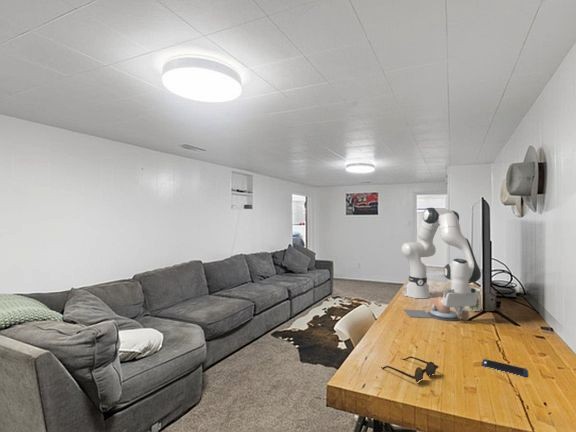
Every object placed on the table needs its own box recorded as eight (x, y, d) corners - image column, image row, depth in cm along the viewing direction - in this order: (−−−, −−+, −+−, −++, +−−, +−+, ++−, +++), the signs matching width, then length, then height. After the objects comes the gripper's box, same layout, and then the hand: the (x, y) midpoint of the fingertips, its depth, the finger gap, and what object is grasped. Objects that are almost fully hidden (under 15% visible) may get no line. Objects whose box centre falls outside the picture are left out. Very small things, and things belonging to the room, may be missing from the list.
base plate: (423, 311, 192) (423, 310, 192) (452, 312, 191) (452, 311, 191) (433, 320, 175) (433, 319, 175) (466, 321, 174) (466, 320, 174)
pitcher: (492, 315, 187) (493, 292, 187) (457, 310, 196) (458, 288, 196) (491, 311, 196) (491, 288, 196) (458, 306, 205) (458, 285, 205)
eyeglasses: (414, 386, 105) (414, 371, 105) (377, 368, 117) (377, 355, 117) (438, 374, 114) (438, 360, 114) (401, 359, 126) (401, 346, 126)
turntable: (426, 314, 183) (426, 305, 183) (435, 309, 193) (436, 301, 193) (463, 322, 169) (463, 313, 169) (471, 317, 179) (472, 308, 179)
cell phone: (483, 360, 127) (483, 358, 127) (527, 371, 118) (527, 369, 118) (481, 367, 121) (481, 365, 121) (527, 378, 112) (527, 376, 112)
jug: (432, 308, 191) (432, 294, 191) (453, 312, 182) (453, 298, 182) (428, 310, 186) (428, 296, 186) (449, 314, 178) (449, 300, 178)
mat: (403, 310, 194) (403, 309, 194) (423, 311, 193) (423, 310, 193) (410, 317, 180) (410, 316, 180) (432, 318, 179) (432, 317, 179)
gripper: (448, 290, 169) (447, 317, 169) (479, 289, 175) (478, 315, 175) (439, 288, 176) (439, 313, 175) (469, 287, 181) (469, 312, 181)
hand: (459, 314), depth 175 cm, fingers closed
